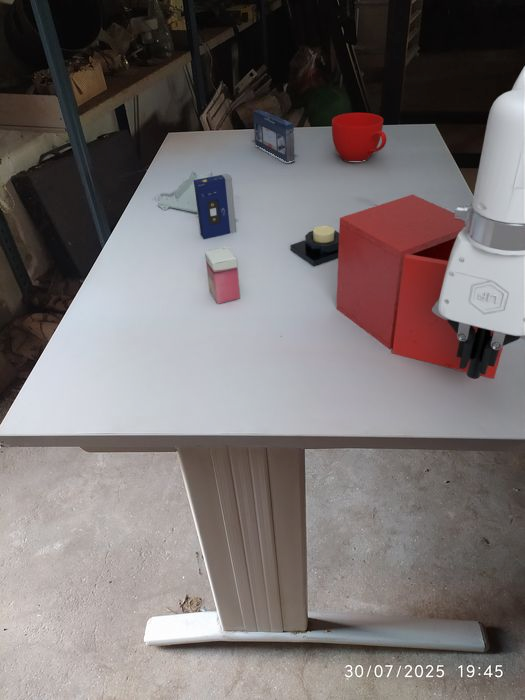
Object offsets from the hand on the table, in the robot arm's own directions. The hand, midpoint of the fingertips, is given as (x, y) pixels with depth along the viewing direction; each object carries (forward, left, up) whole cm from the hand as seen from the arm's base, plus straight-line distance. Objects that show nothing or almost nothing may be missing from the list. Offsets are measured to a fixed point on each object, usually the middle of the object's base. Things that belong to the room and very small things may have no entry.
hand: (474, 364), depth 66 cm
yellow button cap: (-9, -44, -4) cm, 46 cm away
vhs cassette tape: (-31, -98, -7) cm, 104 cm away
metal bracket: (0, -81, -7) cm, 82 cm away
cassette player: (+4, -63, -7) cm, 64 cm away
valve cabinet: (-6, -20, -7) cm, 22 cm away
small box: (+14, -41, -7) cm, 44 cm away
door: (-1, -6, -6) cm, 9 cm away
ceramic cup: (-46, -79, -7) cm, 92 cm away
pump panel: (-9, -44, -7) cm, 46 cm away
